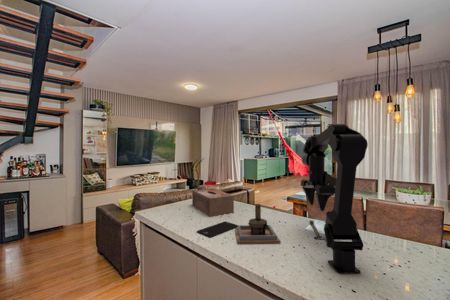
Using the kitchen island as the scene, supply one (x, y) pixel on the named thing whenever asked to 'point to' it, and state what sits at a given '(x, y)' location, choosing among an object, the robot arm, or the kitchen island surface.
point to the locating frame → (255, 237)
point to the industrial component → (258, 222)
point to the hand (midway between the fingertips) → (316, 207)
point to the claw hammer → (315, 231)
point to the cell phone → (217, 229)
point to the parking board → (248, 232)
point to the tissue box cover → (213, 202)
